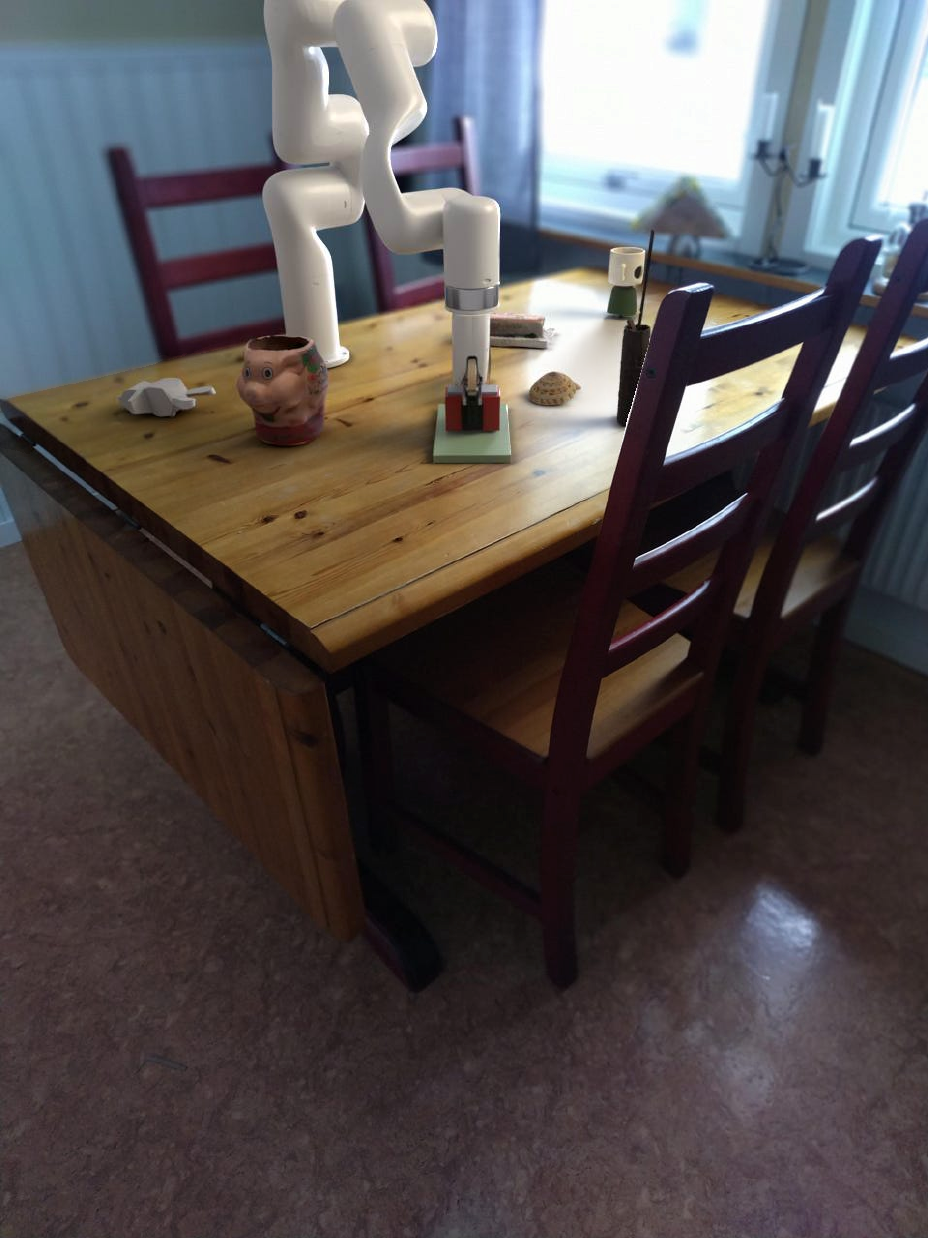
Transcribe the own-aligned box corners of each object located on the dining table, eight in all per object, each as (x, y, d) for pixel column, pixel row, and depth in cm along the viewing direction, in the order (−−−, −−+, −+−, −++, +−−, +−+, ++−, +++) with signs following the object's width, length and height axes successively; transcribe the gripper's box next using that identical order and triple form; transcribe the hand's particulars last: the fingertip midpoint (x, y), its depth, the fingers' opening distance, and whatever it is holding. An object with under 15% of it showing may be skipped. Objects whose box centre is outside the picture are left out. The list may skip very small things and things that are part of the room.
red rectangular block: (499, 430, 126) (500, 393, 122) (445, 431, 126) (444, 393, 123) (498, 419, 129) (499, 382, 126) (446, 419, 129) (445, 383, 126)
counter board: (433, 463, 120) (433, 455, 120) (438, 410, 137) (438, 403, 136) (510, 462, 120) (510, 454, 120) (506, 410, 137) (506, 403, 136)
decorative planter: (280, 404, 140) (268, 318, 132) (351, 409, 138) (343, 322, 130) (229, 454, 124) (212, 359, 116) (309, 460, 122) (297, 364, 114)
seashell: (592, 381, 141) (566, 374, 135) (582, 415, 142) (556, 409, 136) (552, 370, 145) (526, 363, 139) (543, 403, 147) (516, 397, 141)
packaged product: (455, 318, 163) (467, 305, 171) (455, 344, 165) (467, 329, 173) (548, 324, 159) (556, 309, 167) (547, 349, 162) (554, 334, 170)
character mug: (633, 323, 175) (640, 257, 168) (599, 321, 177) (605, 254, 170) (642, 310, 184) (649, 245, 176) (610, 307, 186) (615, 243, 178)
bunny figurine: (139, 373, 141) (215, 371, 136) (149, 403, 144) (224, 402, 139) (102, 392, 134) (181, 391, 129) (113, 423, 136) (191, 424, 131)
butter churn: (595, 408, 137) (610, 219, 121) (654, 408, 137) (677, 219, 121) (601, 430, 129) (617, 232, 113) (663, 430, 129) (689, 232, 113)
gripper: (446, 281, 124) (449, 402, 134) (442, 313, 110) (445, 445, 120) (497, 281, 124) (496, 402, 134) (500, 313, 110) (498, 445, 120)
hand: (472, 421), depth 127 cm, fingers closed on red rectangular block, 4 cm apart
